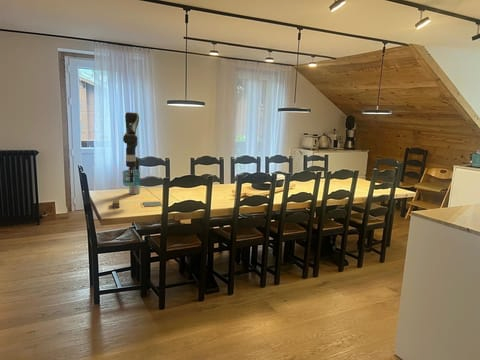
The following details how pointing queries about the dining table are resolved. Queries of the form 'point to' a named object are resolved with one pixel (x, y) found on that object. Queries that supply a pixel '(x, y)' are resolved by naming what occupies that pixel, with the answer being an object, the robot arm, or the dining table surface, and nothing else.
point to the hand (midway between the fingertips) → (131, 181)
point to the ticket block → (115, 203)
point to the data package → (127, 178)
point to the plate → (151, 204)
